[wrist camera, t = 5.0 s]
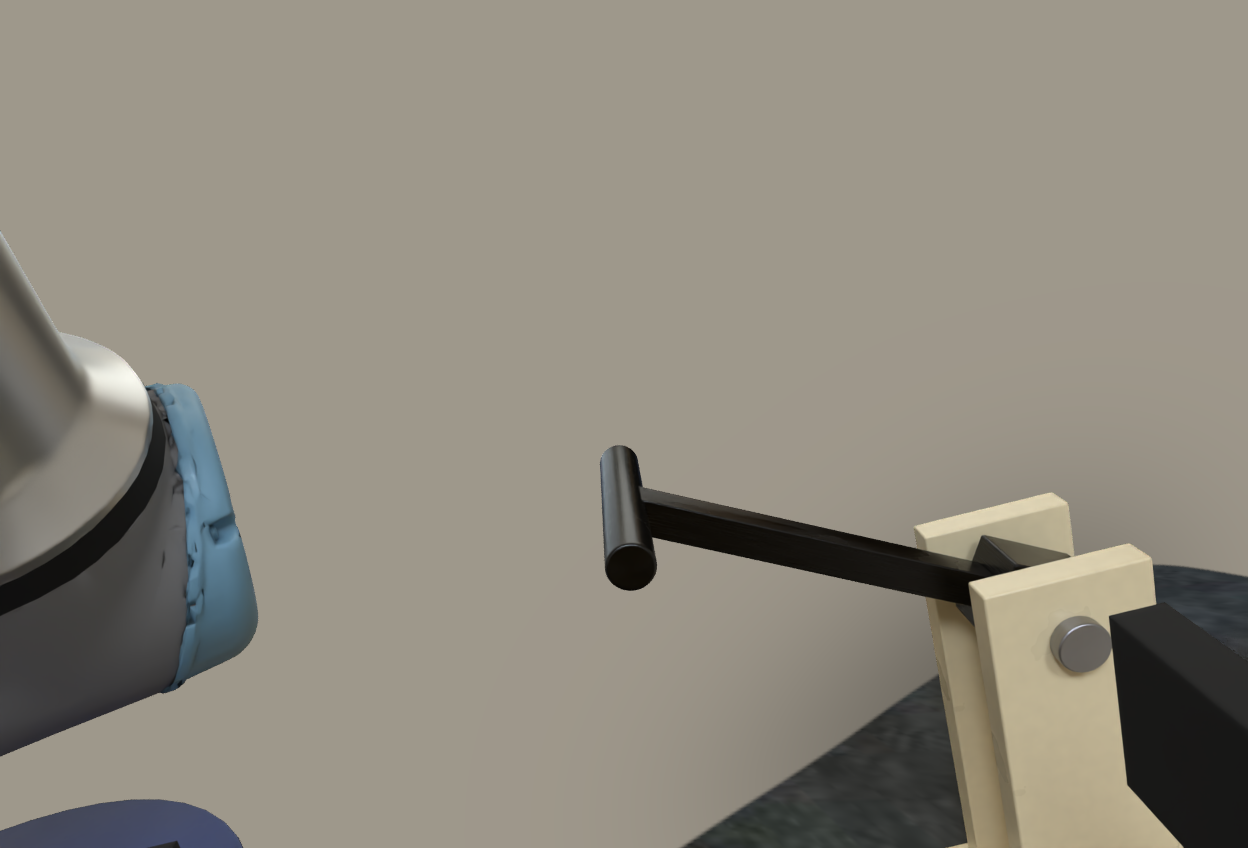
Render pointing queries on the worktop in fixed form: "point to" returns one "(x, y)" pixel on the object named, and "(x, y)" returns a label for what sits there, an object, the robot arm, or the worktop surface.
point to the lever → (782, 542)
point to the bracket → (1039, 685)
